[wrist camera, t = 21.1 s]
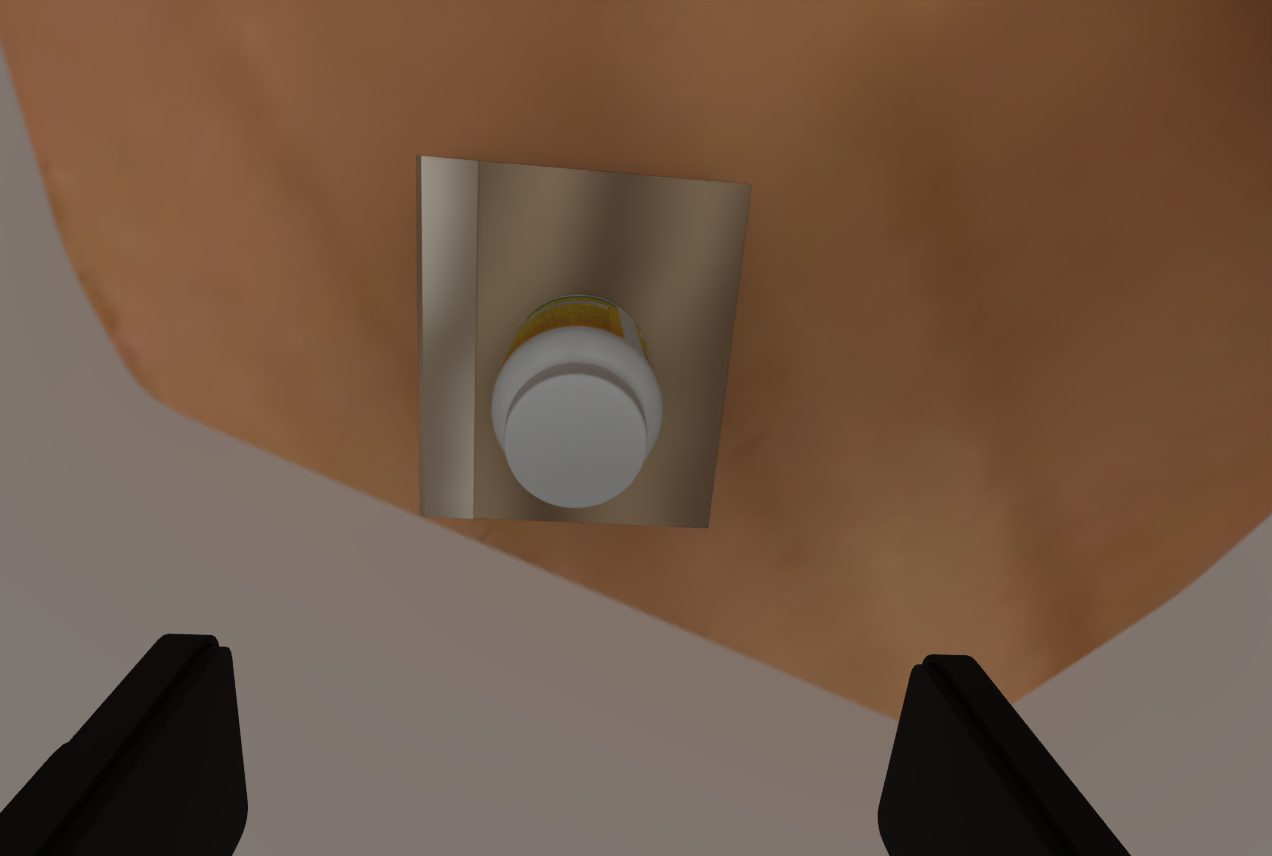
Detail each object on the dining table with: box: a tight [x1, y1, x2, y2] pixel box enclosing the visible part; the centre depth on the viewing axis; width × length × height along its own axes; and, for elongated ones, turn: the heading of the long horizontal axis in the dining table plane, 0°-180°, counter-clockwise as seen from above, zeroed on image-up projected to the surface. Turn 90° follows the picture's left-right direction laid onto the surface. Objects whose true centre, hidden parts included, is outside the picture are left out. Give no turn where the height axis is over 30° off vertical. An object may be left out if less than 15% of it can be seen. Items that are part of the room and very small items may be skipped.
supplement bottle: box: [491, 295, 663, 508], centre depth 25 cm, size 5×5×10 cm
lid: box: [416, 155, 751, 528], centre depth 30 cm, size 12×14×1 cm
